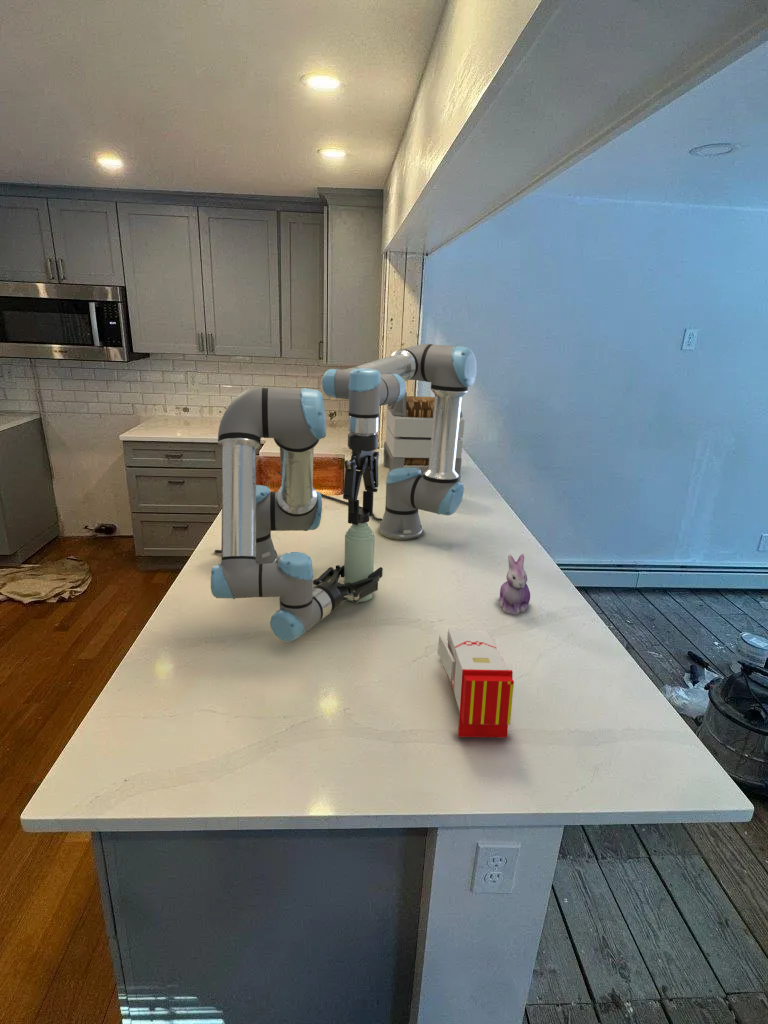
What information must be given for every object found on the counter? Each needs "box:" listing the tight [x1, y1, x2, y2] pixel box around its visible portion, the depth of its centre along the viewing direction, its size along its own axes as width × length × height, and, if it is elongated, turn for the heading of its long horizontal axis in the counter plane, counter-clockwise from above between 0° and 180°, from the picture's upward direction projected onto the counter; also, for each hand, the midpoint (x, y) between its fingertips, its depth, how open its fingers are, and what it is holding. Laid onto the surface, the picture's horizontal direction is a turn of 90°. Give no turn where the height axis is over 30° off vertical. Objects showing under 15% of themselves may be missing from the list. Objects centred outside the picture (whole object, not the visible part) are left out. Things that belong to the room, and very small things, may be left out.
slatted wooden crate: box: [383, 391, 465, 482], centre depth 268 cm, size 34×33×41 cm
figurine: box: [498, 553, 531, 615], centre depth 151 cm, size 9×10×15 cm
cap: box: [358, 509, 371, 524], centre depth 148 cm, size 5×5×2 cm
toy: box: [437, 628, 515, 738], centre depth 117 cm, size 12×13×30 cm
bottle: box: [343, 522, 376, 603], centre depth 152 cm, size 8×8×24 cm
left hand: (367, 568), depth 158 cm, fingers closed on bottle, 8 cm apart
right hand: (360, 519), depth 149 cm, fingers open, 7 cm apart
